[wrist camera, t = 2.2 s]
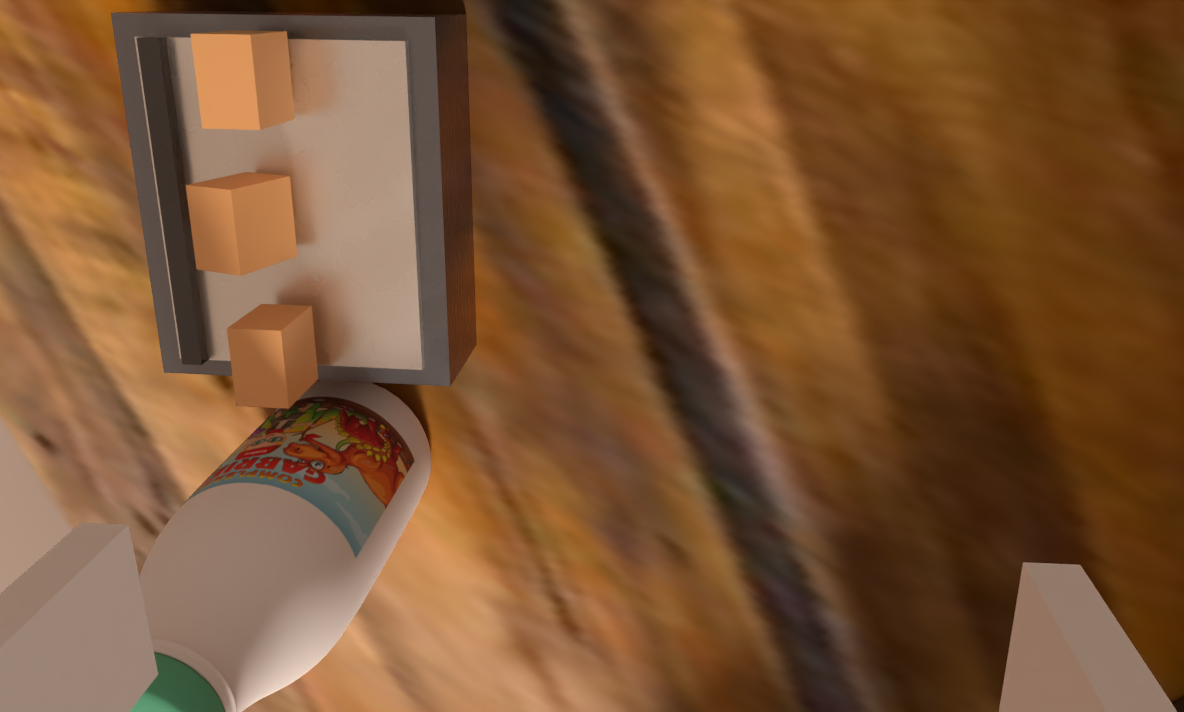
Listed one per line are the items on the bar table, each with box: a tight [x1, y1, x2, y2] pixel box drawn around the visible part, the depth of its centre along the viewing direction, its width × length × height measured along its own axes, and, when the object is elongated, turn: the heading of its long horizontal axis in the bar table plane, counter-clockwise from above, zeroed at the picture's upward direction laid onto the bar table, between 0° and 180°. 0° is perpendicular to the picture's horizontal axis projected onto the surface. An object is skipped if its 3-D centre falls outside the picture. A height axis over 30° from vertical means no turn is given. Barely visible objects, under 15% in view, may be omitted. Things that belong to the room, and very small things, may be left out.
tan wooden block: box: [227, 304, 318, 409], centre depth 37 cm, size 2×3×3 cm, turn 179°
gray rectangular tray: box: [111, 10, 476, 386], centre depth 40 cm, size 12×14×6 cm
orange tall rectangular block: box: [191, 30, 295, 130], centre depth 34 cm, size 2×3×3 cm, turn 179°
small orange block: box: [186, 172, 297, 276], centre depth 36 cm, size 2×3×3 cm, turn 1°
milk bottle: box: [129, 380, 431, 712], centre depth 38 cm, size 8×8×20 cm
